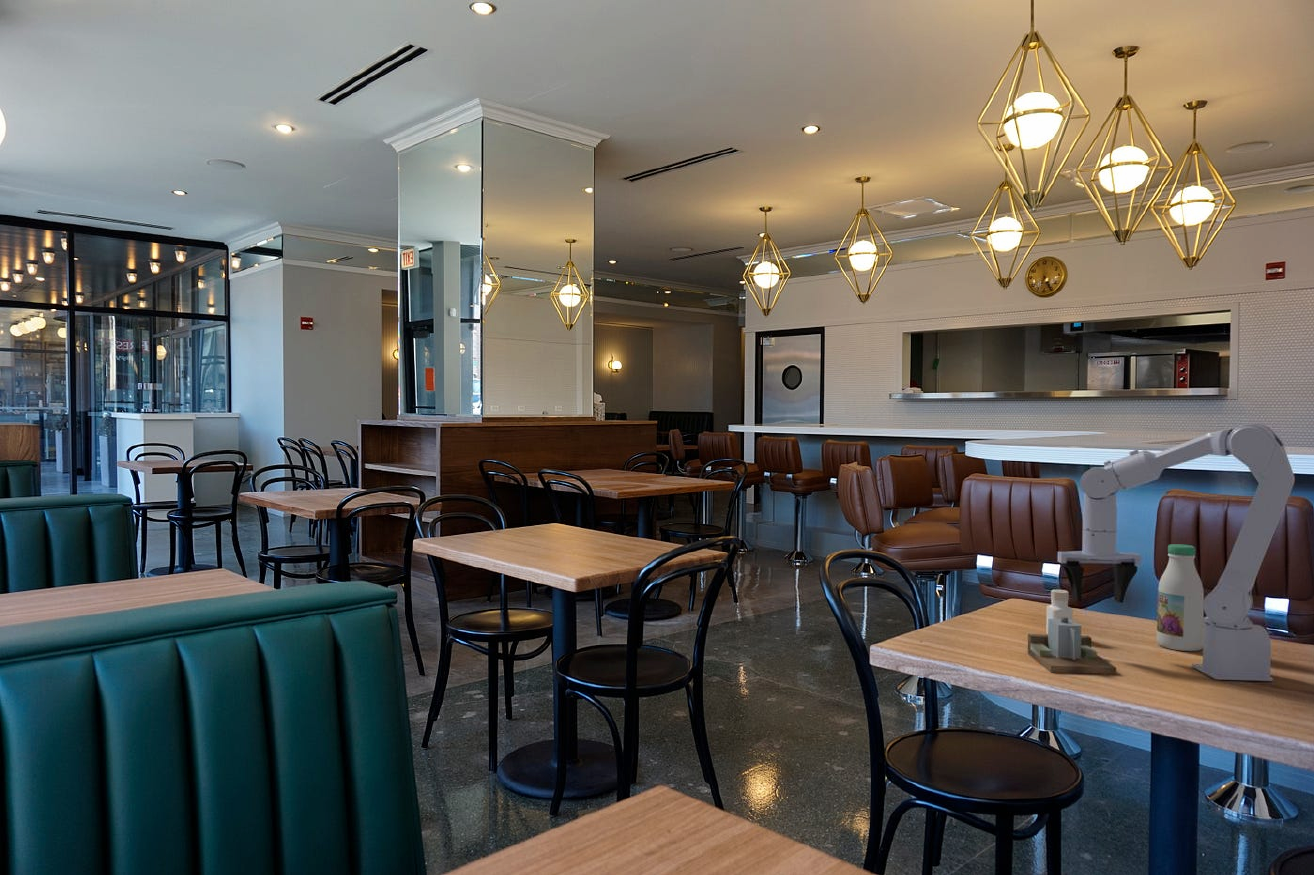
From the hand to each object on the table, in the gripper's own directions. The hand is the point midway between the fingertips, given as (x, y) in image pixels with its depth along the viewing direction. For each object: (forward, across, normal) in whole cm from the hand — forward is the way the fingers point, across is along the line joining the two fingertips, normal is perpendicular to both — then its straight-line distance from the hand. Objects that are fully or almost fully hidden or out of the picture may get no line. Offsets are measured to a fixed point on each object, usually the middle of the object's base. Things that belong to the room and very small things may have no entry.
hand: (1098, 601), depth 164 cm
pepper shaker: (+10, +3, -11) cm, 15 cm away
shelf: (+10, +8, +8) cm, 15 cm away
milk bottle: (+10, -18, -6) cm, 21 cm away
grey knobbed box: (+9, +8, +8) cm, 14 cm away
